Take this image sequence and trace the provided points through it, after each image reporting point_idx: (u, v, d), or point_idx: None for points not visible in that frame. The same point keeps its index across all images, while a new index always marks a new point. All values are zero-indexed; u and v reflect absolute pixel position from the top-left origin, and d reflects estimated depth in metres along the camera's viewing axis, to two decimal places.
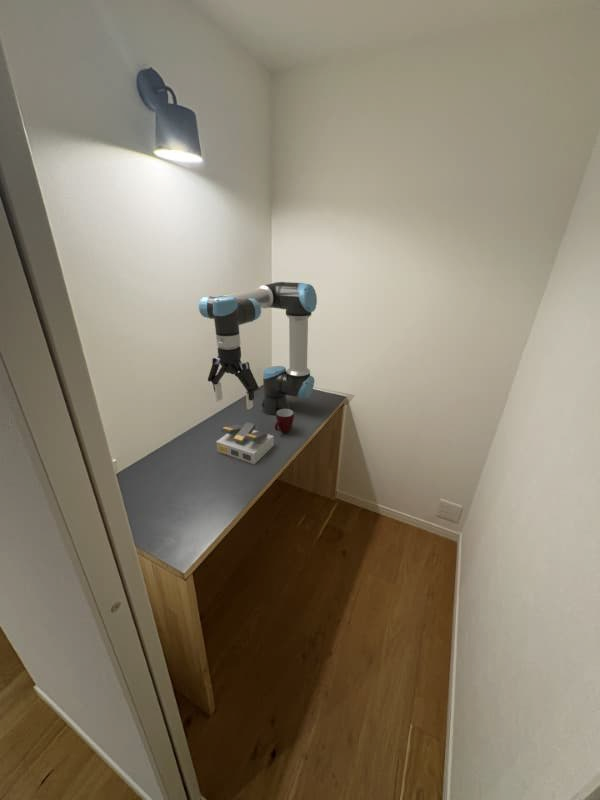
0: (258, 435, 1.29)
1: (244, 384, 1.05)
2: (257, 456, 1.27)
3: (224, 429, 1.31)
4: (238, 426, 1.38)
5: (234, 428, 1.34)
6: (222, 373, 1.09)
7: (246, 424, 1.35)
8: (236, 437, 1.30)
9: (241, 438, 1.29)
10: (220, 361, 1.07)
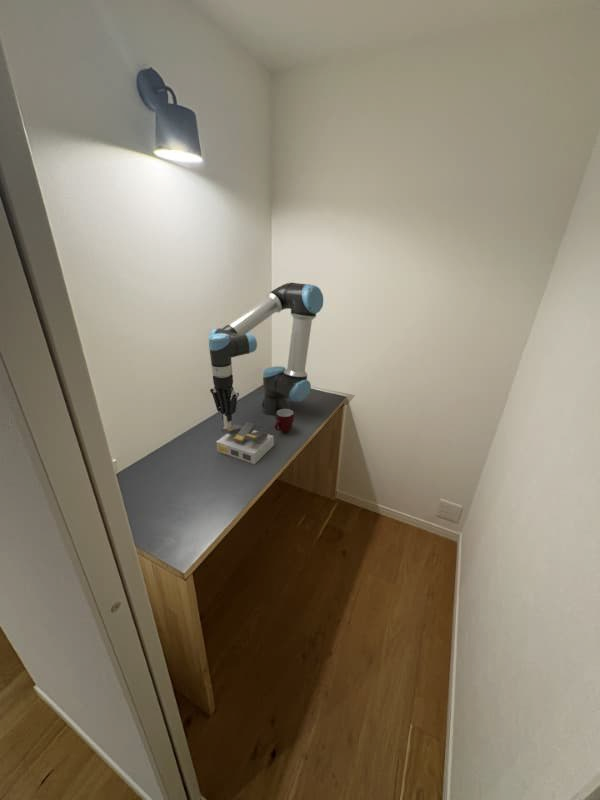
0: (258, 435, 1.29)
1: (226, 408, 1.26)
2: (257, 456, 1.27)
3: (224, 429, 1.31)
4: (238, 426, 1.38)
5: (234, 428, 1.34)
6: (223, 399, 1.26)
7: (246, 424, 1.35)
8: (236, 437, 1.30)
9: (241, 438, 1.29)
10: (215, 387, 1.24)
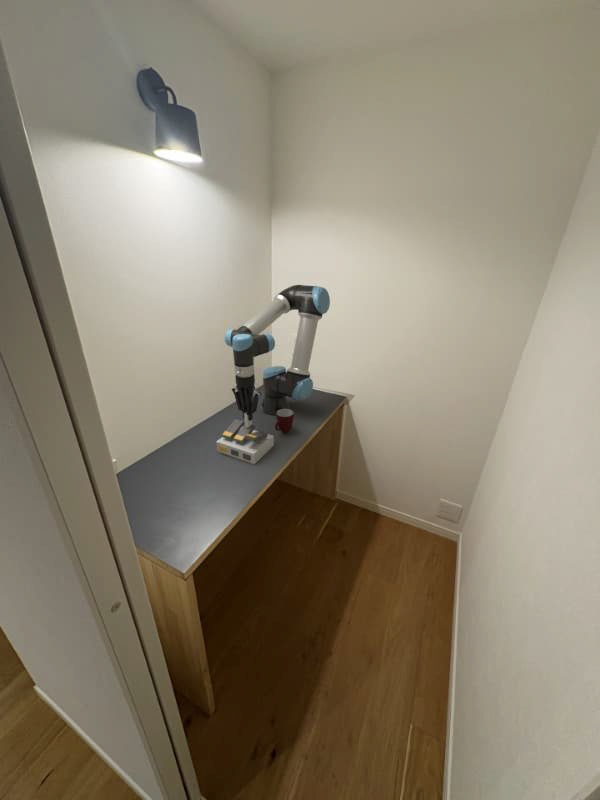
0: (258, 435, 1.29)
1: (248, 407, 1.29)
2: (257, 456, 1.27)
3: (224, 435, 1.32)
4: (237, 423, 1.36)
5: (233, 430, 1.34)
6: (244, 398, 1.29)
7: None
8: (236, 437, 1.30)
9: (241, 438, 1.29)
10: (237, 387, 1.27)
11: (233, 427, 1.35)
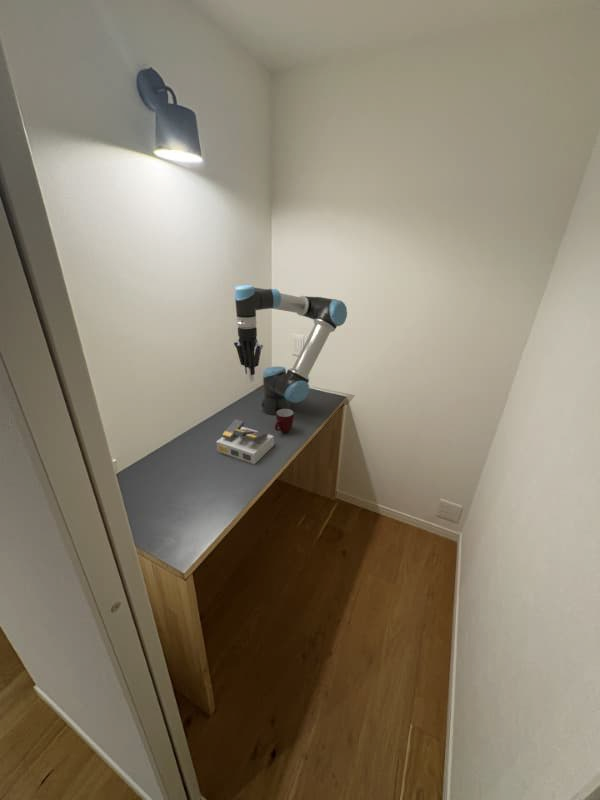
0: (258, 435, 1.29)
1: (250, 360, 1.30)
2: (257, 456, 1.27)
3: (224, 435, 1.32)
4: (237, 423, 1.36)
5: (233, 430, 1.34)
6: (246, 352, 1.30)
7: (247, 429, 1.37)
8: (237, 429, 1.29)
9: (242, 431, 1.29)
10: (239, 340, 1.29)
11: (233, 427, 1.35)
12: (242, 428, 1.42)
